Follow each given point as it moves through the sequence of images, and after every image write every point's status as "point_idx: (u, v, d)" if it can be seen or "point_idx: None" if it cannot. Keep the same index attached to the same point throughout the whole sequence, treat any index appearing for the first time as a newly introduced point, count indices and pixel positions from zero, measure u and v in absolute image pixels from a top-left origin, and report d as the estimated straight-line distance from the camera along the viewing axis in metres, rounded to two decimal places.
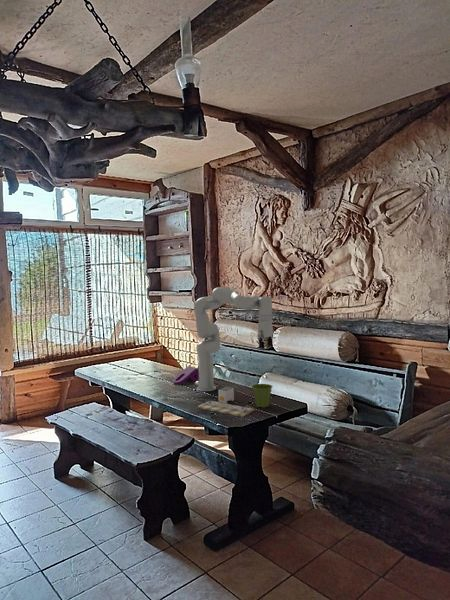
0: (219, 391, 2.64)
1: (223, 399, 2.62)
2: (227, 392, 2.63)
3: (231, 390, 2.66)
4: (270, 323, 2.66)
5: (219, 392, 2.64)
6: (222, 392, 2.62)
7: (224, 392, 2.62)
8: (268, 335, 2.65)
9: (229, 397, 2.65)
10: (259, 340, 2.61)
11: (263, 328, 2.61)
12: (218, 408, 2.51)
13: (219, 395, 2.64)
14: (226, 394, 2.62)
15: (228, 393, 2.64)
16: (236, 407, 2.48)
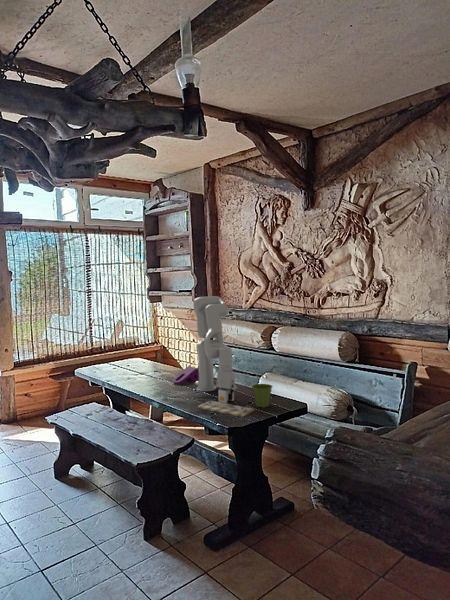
0: (219, 391, 2.64)
1: (223, 399, 2.62)
2: (227, 392, 2.63)
3: None
4: None
5: (219, 392, 2.64)
6: (222, 392, 2.62)
7: (224, 392, 2.62)
8: None
9: None
10: (232, 392, 2.63)
11: (233, 377, 2.64)
12: (218, 408, 2.51)
13: (219, 395, 2.64)
14: (226, 394, 2.62)
15: (228, 393, 2.64)
16: (236, 407, 2.48)
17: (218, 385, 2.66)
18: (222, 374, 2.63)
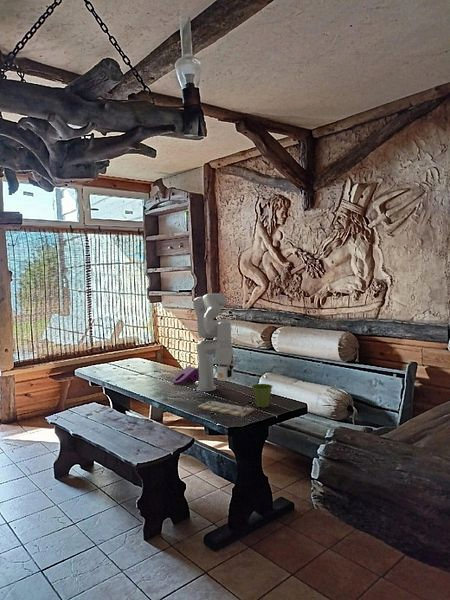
0: (218, 367, 2.51)
1: (222, 376, 2.49)
2: (226, 368, 2.50)
3: None
4: None
5: (218, 368, 2.51)
6: (221, 368, 2.49)
7: (223, 368, 2.49)
8: None
9: None
10: (231, 368, 2.50)
11: (233, 353, 2.51)
12: (218, 408, 2.51)
13: (218, 372, 2.51)
14: (225, 370, 2.49)
15: (227, 369, 2.51)
16: (236, 407, 2.48)
17: (217, 361, 2.53)
18: (221, 350, 2.50)
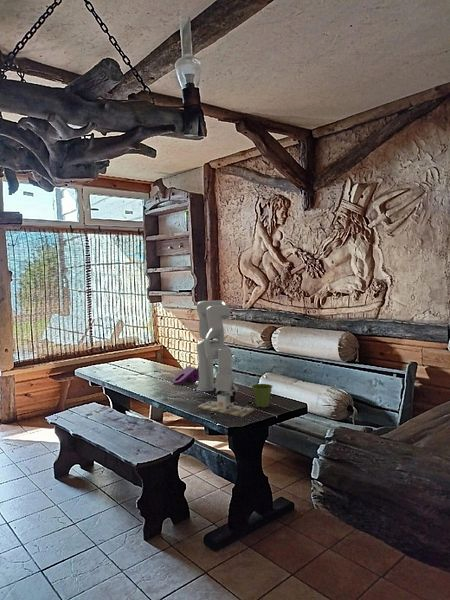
0: (218, 396, 2.49)
1: (222, 405, 2.48)
2: (226, 397, 2.48)
3: None
4: None
5: (218, 397, 2.49)
6: (221, 397, 2.48)
7: (223, 397, 2.47)
8: None
9: (228, 403, 2.50)
10: (234, 394, 2.47)
11: (233, 380, 2.49)
12: None
13: (218, 401, 2.49)
14: (225, 399, 2.48)
15: (228, 398, 2.50)
16: (236, 407, 2.48)
17: (217, 388, 2.51)
18: (221, 376, 2.49)
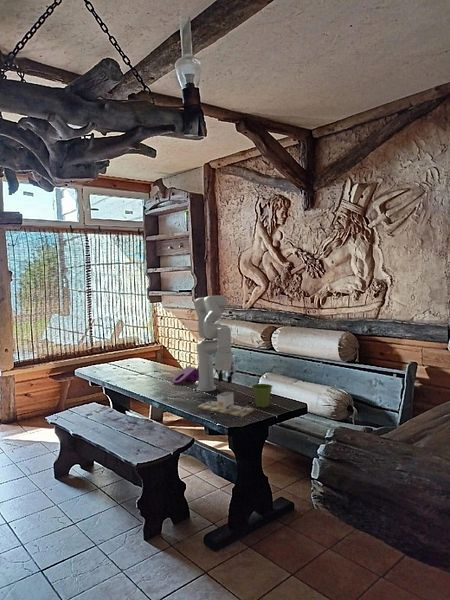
0: (218, 396, 2.49)
1: (222, 405, 2.48)
2: (226, 397, 2.48)
3: (231, 395, 2.52)
4: None
5: (218, 397, 2.49)
6: (221, 397, 2.48)
7: (223, 397, 2.47)
8: None
9: (228, 403, 2.50)
10: (231, 374, 2.48)
11: (232, 359, 2.49)
12: None
13: (218, 401, 2.49)
14: (225, 399, 2.48)
15: (228, 398, 2.50)
16: (236, 407, 2.48)
17: (216, 367, 2.50)
18: (221, 355, 2.48)
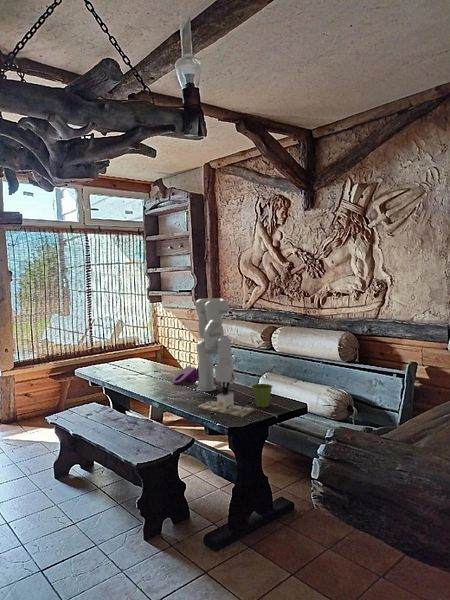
0: (218, 396, 2.49)
1: (222, 405, 2.48)
2: (226, 397, 2.48)
3: (231, 395, 2.52)
4: None
5: (218, 397, 2.49)
6: (221, 397, 2.48)
7: (223, 397, 2.47)
8: None
9: (228, 403, 2.50)
10: (228, 385, 2.49)
11: (233, 370, 2.49)
12: None
13: (218, 401, 2.49)
14: (225, 399, 2.48)
15: (228, 398, 2.50)
16: (236, 407, 2.48)
17: (217, 378, 2.51)
18: (221, 367, 2.48)
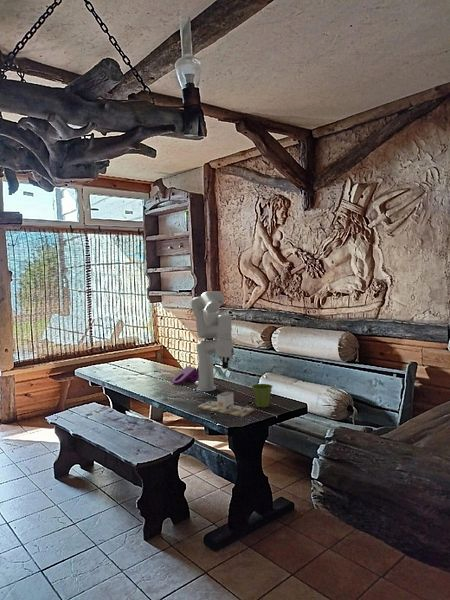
0: (218, 396, 2.49)
1: (222, 405, 2.48)
2: (226, 397, 2.48)
3: (231, 395, 2.52)
4: None
5: (218, 397, 2.49)
6: (221, 397, 2.48)
7: (223, 397, 2.47)
8: None
9: (228, 403, 2.50)
10: (228, 360, 2.56)
11: (233, 346, 2.55)
12: None
13: (218, 401, 2.49)
14: (225, 399, 2.48)
15: (228, 398, 2.50)
16: (236, 407, 2.48)
17: (217, 353, 2.57)
18: (221, 342, 2.54)
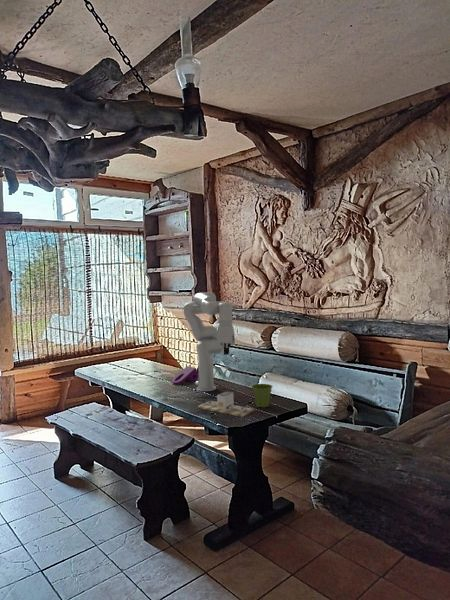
0: (218, 396, 2.49)
1: (222, 405, 2.48)
2: (226, 397, 2.48)
3: (231, 395, 2.52)
4: None
5: (218, 397, 2.49)
6: (221, 397, 2.48)
7: (223, 397, 2.47)
8: None
9: (228, 403, 2.50)
10: (229, 346, 2.67)
11: (233, 332, 2.67)
12: None
13: (218, 401, 2.49)
14: (225, 399, 2.48)
15: (228, 398, 2.50)
16: (236, 407, 2.48)
17: (218, 340, 2.68)
18: (223, 329, 2.66)
